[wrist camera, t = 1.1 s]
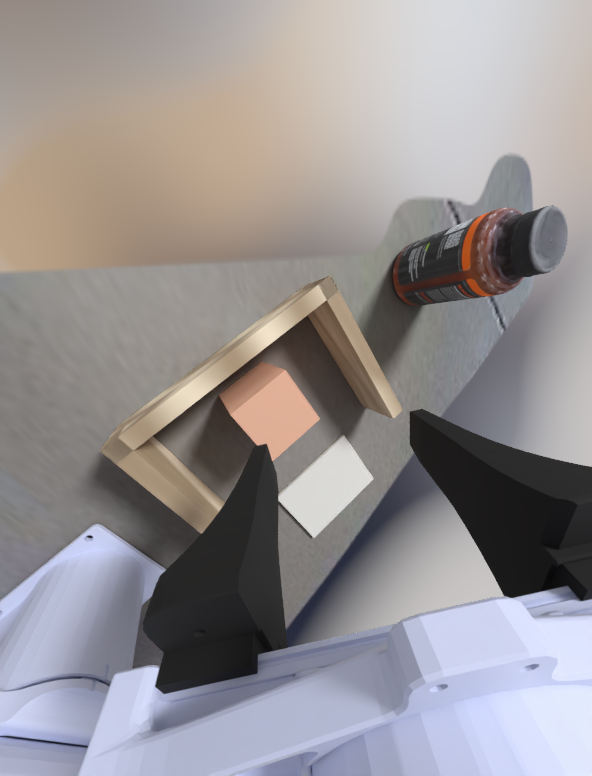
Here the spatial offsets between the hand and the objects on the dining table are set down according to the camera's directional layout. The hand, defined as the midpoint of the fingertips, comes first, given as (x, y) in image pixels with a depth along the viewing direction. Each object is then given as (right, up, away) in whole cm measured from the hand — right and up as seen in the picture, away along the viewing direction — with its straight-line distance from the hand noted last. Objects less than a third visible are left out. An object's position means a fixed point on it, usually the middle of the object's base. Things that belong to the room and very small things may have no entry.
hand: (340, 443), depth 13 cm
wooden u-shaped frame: (-5, +1, +11) cm, 12 cm away
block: (-6, +2, +10) cm, 12 cm away
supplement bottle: (+10, +14, +14) cm, 22 cm away
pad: (+1, -8, +15) cm, 17 cm away
